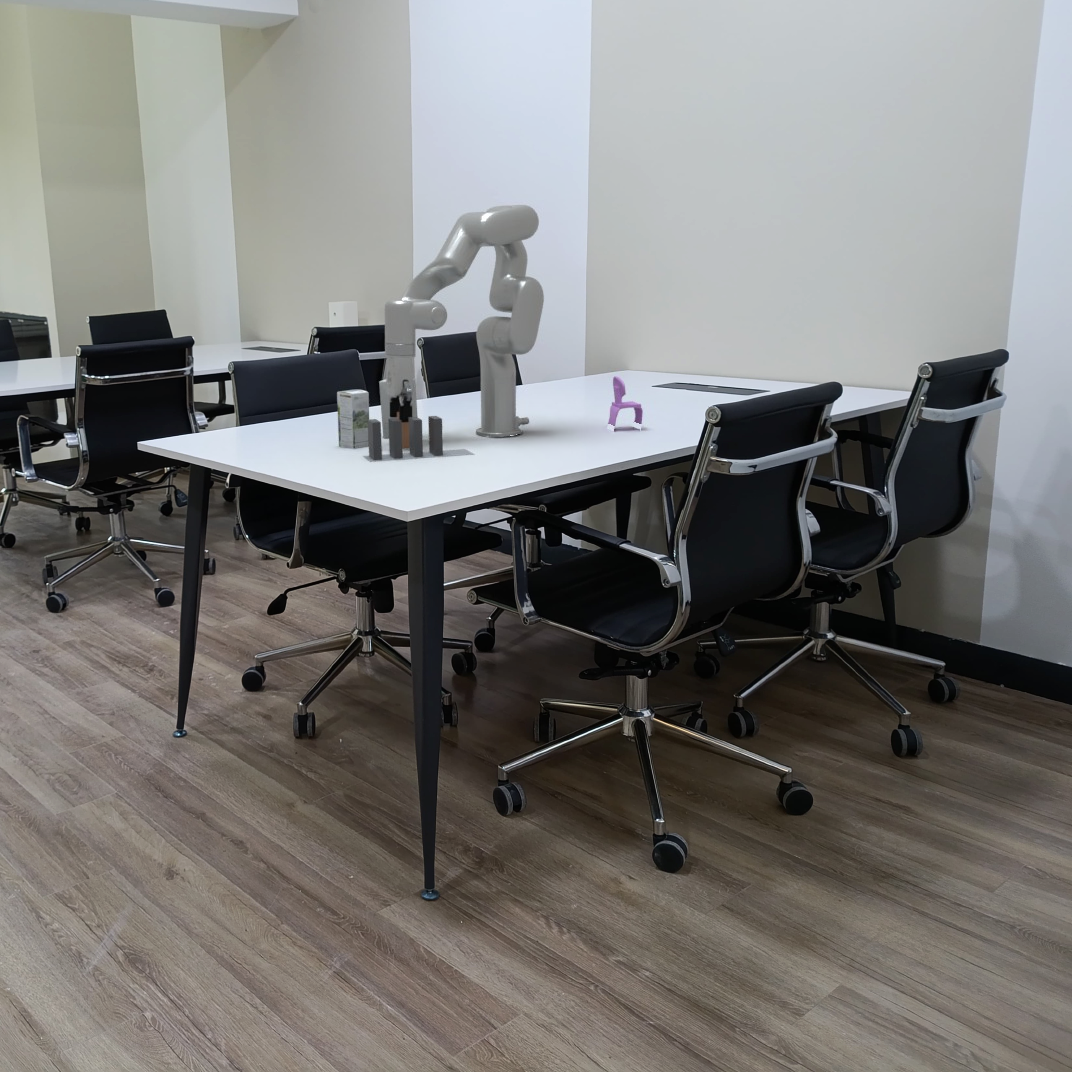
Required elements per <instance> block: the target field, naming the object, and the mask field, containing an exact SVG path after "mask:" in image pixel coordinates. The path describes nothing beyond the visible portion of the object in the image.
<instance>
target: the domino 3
mask: <svg viewBox="0 0 1072 1072" xmlns="http://www.w3.org/2000/svg"><path fill="white" fill-rule="evenodd" d="M397 419H399V412H397ZM402 448H403V450H404V449H409V422H402Z"/></svg>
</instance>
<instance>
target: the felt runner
mask: <svg viewBox="0 0 1072 1072" xmlns="http://www.w3.org/2000/svg"><path fill="white" fill-rule="evenodd" d="M474 455H475V453H473V452H471V451H470V450H468V449H465V448H461V449H447V450H446V449H445V450H444V449H443V456H434V455H432V454H431V453H429V451H423V457H414V456H412V455H410V452H403V458H400V459H394V458H393V457H391V456H390V453H388V454H387V453H386V454H385V453H384V454H382V460H373V459H372V458H370V457H369V455H362V457H363V458H365V460H367V461H368V462H370V463H372V462H373V463H375V462H387V461H388V462H390V461H403V460H404V461H405V460H417V459H418V460H419V459H432V458H446V457H461V456H474Z"/></svg>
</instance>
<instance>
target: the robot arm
mask: <svg viewBox="0 0 1072 1072" xmlns="http://www.w3.org/2000/svg"><path fill="white" fill-rule="evenodd" d="M539 223H540V220H539V216H538V213H537V212H536V210H535V209H534V208H532V207H531V206H530V205H527V204H512V205H496V206H493V207H490V208H488V209H487V210H486V211H477V212H475V211H474V212H473V211H472V212H467V213H463V214H462V215H461V216H459V217H458V218H457V220H456V222H455V223H454V225H453V226H452V229H451V231H450V232H449V234H448V236H447V238H446V239H445V242H444V243H443V244H442V247H441V249H440V251H439V253H438V254H437V256H436V257H435V258H434V260H433V261H432V262H430V263H429V264H427V266H426V267H424V269H423V270H421V272H419V273H418V274H417V275H416V276H414V278H413V279H412V280H411V281H410V283H409V284H408V286H407V288H406V289H405V291H404V293H402V294H403V295H402V296H401V299H390V300H387V301H386V302H385V304H384V357H385V358H387V361H386V372H385V373H386V374H385V375H386V377H385V378H386V393H387V394H388V395H389V396H390V401H392V402H390V417H397V412H399V420H401V421H402V422H409V418H408V417H412V396H413V379H414V368H413V367H414V363H413V358H416V357H417V356H416V354H417V353H416V341H417V340H416V338H417V337H416V331H417V330H422V331H436V330H439V329H440V328H442V327H443V326H444V325H445V324H446V322H447V319H448V313H447V308H446V307H445V305H444V304H443V303H441V302H440V301H438V300H435V299H432V298H433V297H434V296H435V295H437V293H438V292H440V291H442V290H443V289H445V288H448V287H449V286H451V285H453V284H455V283H457V282H459V281H461V280H462V279H464V277H466V275H467V273H468V272H469V270H470V268H471V266H472V264H473V262H474V260H475V258H476V256H477V255H478V253H479V251H480V249H481V248H482V247H494V248H493V249H494V251H495V264H494V268H493V275H492V279H491V284H490V288H489V289H490V290H489V296H488V297H489V298H488V299H489V305H490V307H492V309H493V310H495V311H497V312H502V313H511V315H510V317H509V316H497V315H496V316H489V317H487V318H484V319H483V320H482V321H481V322H480V323H479V325H478V327H477V329H476V336H475V337H476V343H477V347H478V348H477V349H478V352H479V361H480V362H479V363H480V365H479V366H480V419H481V421H480V422H481V423H480V424H481V426H480V427H478V428H477V429H475V434H476V435H477V436H481V437H486V436H489V438H495V437H494V436H510V435H516V434H520V435H522V433H523V432H522V431H523V430H522V429H521V428H520V426H521V425H522V426H524V425H528V424H530V419H529V418H528V417H525V416H524V417H521V418H520V417H519V415H518V416H517V394H516V393H517V387H516V386H517V380H516V379H517V370H516V369H517V368H516V364H515V360H514V357H513V355H518V356H519V355H521V356H522V355H525V354H528V353H530V351H531V350H533V348H534V346H535V344H536V341H537V337H538V334H539V333H538V332H539V328H540V322H541V318H542V315H543V314H542V313H543V308H544V307H543V306H544V301H545V300H544V299H545V295H544V291H543V290H544V289H543V287H542V285H541V283H540V282H539V281H538V280H537V279H536V278H534V277H531V276H527V275H526V274H527V267H528V253H527V249H526V247H525V245H524V242H523V241H525V240H528V239H530V238H532V237H533V236H534V235H535V233H536V232H537V231H538V228H539ZM403 398H404V399H403ZM490 436H491V437H490Z"/></svg>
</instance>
